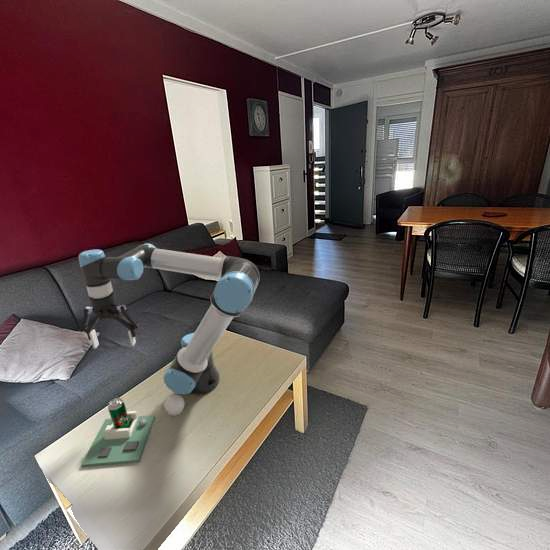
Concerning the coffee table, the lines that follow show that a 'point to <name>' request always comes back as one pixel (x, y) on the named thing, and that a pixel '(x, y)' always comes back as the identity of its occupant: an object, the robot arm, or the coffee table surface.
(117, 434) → the board
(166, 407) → the seamed sphere
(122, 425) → the soda can
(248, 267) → the robot arm
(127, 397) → the coffee table surface
